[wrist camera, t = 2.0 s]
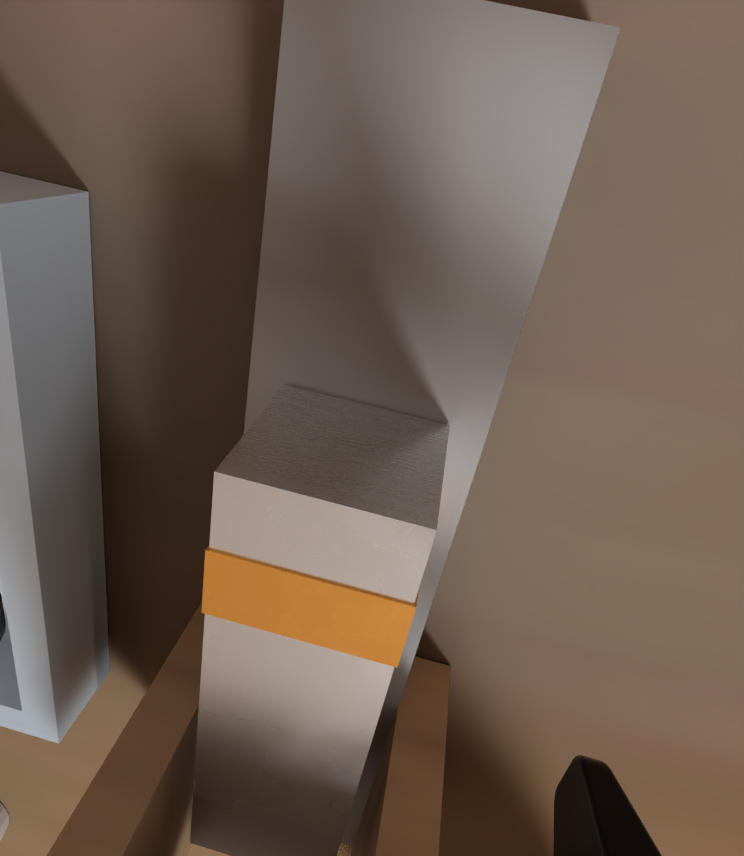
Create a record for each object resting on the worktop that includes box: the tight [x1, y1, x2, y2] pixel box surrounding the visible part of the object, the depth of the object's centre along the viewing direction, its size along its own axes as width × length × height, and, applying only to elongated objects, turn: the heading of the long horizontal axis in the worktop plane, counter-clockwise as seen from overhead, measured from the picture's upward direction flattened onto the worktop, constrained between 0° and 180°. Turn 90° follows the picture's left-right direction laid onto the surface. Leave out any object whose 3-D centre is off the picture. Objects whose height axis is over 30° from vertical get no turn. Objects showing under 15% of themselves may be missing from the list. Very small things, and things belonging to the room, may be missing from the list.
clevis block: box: [47, 0, 621, 856], centre depth 13 cm, size 25×8×8 cm, turn 169°
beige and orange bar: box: [190, 384, 450, 856], centre depth 14 cm, size 12×4×4 cm, turn 169°
